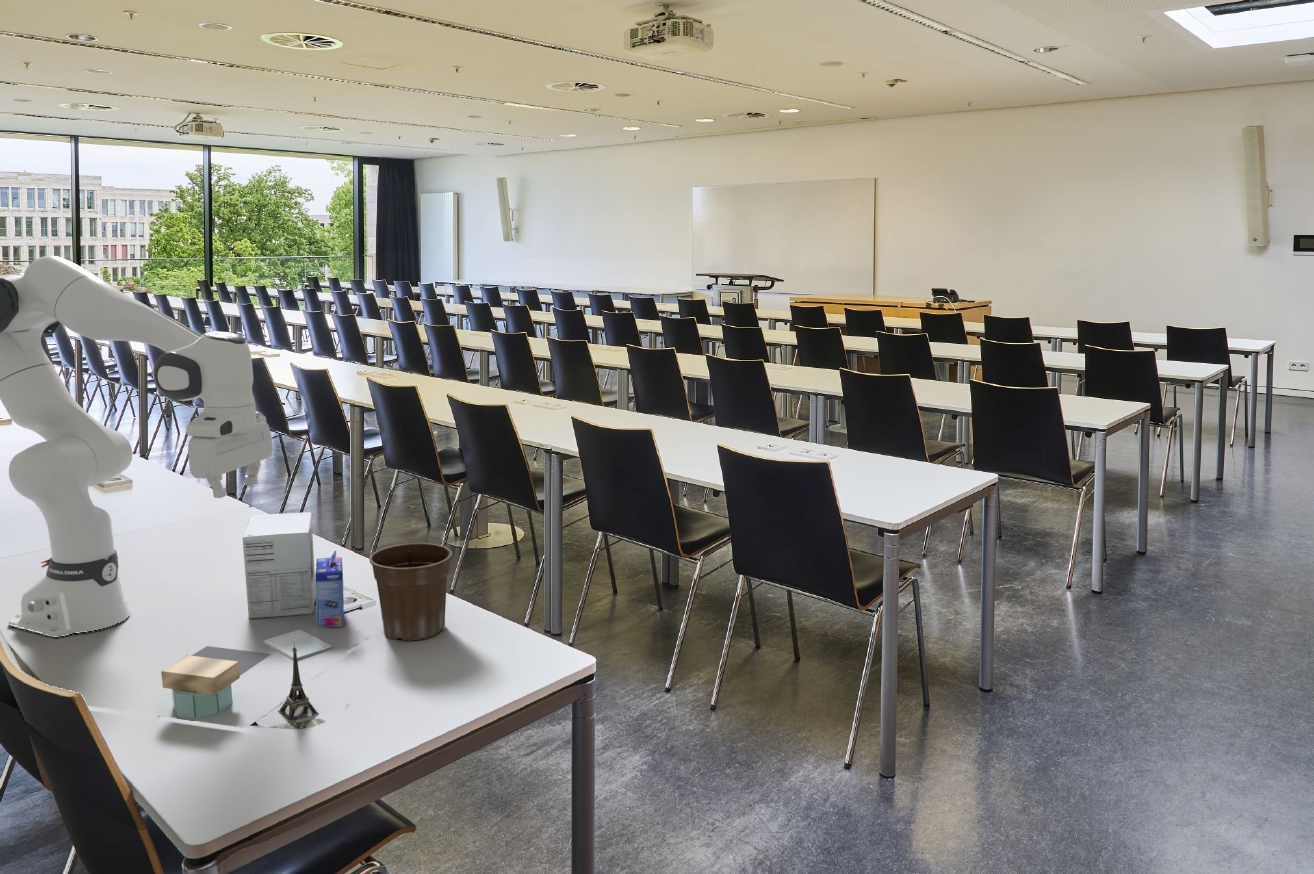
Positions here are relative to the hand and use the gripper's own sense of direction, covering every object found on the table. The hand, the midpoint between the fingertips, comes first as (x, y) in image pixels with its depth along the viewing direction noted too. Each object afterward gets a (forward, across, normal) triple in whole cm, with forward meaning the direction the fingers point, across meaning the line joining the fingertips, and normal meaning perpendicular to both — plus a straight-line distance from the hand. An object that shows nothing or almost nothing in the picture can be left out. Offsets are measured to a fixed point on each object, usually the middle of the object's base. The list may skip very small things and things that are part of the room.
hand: (236, 490), depth 188 cm
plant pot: (+31, -15, +28) cm, 45 cm away
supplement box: (+31, -21, -6) cm, 38 cm away
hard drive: (+32, -1, +10) cm, 34 cm away
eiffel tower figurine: (+32, +23, +25) cm, 47 cm away
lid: (+27, +25, +9) cm, 37 cm away
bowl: (+31, +25, +9) cm, 41 cm away
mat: (+31, +10, +1) cm, 33 cm away
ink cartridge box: (+31, -15, +9) cm, 36 cm away
